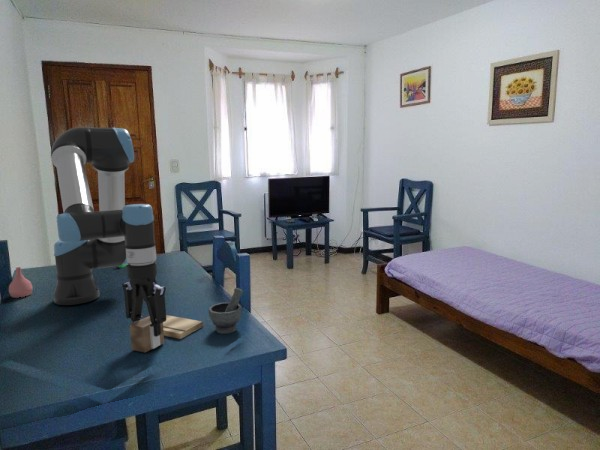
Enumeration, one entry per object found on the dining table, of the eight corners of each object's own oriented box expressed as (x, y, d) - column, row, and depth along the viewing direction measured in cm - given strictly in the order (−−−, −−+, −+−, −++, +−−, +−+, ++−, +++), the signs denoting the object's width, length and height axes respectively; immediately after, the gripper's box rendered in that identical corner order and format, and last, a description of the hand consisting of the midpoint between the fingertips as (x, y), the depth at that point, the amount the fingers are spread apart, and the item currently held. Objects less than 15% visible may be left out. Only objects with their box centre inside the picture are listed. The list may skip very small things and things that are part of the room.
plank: (134, 329, 129) (134, 323, 129) (158, 318, 138) (158, 313, 137) (180, 338, 121) (180, 333, 121) (202, 326, 130) (202, 320, 130)
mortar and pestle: (219, 338, 121) (217, 298, 119) (204, 329, 128) (201, 291, 126) (252, 328, 128) (250, 290, 126) (235, 319, 135) (234, 283, 133)
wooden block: (131, 349, 114) (129, 321, 113) (150, 339, 120) (148, 313, 119) (145, 352, 112) (143, 324, 110) (164, 342, 118) (162, 315, 117)
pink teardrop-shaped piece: (18, 302, 157) (14, 270, 155) (5, 300, 160) (1, 269, 158) (38, 296, 164) (34, 266, 162) (24, 294, 167) (21, 264, 165)
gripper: (106, 262, 113) (113, 344, 116) (156, 268, 105) (163, 356, 108) (128, 256, 119) (134, 334, 123) (177, 262, 112) (182, 345, 115)
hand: (148, 344), depth 116 cm, fingers closed on wooden block, 5 cm apart
